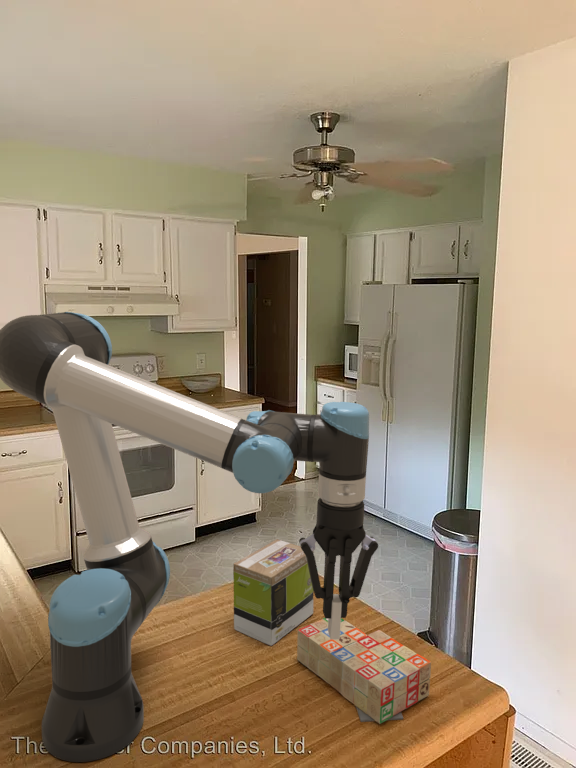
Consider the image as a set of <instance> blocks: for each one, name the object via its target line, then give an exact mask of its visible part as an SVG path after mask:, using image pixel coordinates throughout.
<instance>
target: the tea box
mask: <svg viewBox="0 0 576 768" xmlns="http://www.w3.org/2000/svg"><path fill="white" fill-rule="evenodd" d="M314 553H315V550H314V551H313V554H314ZM314 555H315V554H314ZM232 566H233V570H232V571H233V572H232V573H233V578H232V579H233V629H234V630H235V631H237V632H239V633H241V634H243V635H244V636H245V635H246V636H247V637H249V638H252V639H254V640H255V641H256V640H257V641H259V642H261V643H263V644H265V645H268V646H270V647H271V646H273V645H275V644H276V643H277V642H278V641H280V640H281V639H282V638H283V637H285V636H286V635H287V634H288V633H290V632H292V631H293V630H294V629H295V628H297V627H298V626H299V625H301V624H302V623H303V622H304V621H305V620H307V619H308V618H309V617H310V616H312V615H313V614H314V591H313V587H312V582H311V578H310V573H309V568H308V563H307V558H306V555H305V554H304V552H303V551H302V549H301V546H300V545H297V544H293V543H291V542H288V541H284V540H280V539H278V538H276V539H274V540H273V541H271V542H269V543H267V544H266V545H263V546H262V547H260V548H259V549H256V550H255V551H253V552H252V553H249V554H248V555H246V556H244V557H242V558H241V559H239V560H238V561H236V562H234V563H233V565H232Z"/></svg>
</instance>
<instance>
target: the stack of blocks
mask: <svg viewBox="0 0 576 768" xmlns="http://www.w3.org/2000/svg"><path fill="white" fill-rule="evenodd" d="M296 640H297V643H296V644H297V646H296V647H297V650H296V651H297V652H296V653H297V654H296V655H297V656H296V657H297V658H296V660H297V661H299V663H301V664H302V665H303V666H305V667H307V668H308V669H309V670H310V671H311V672H313V673H314V674H315V675H316V676H318V677H320V678H321V679H322V680H323V681H325V683H327V684H329V685H330V687H332V688H333V689H334V690H336V691H337V692H338V693H340V695H342V697H344V698H345V699H346V700H348V701H349V702H350V703H352V704H354V706H355V705H356V706H357V707H358V708H359V709H361V710H362V711H363V712H365V713H366V714H368V715H369V716H370V717H371V718H373V719H374V720H375V721H374V722H376V723H378V724H379V725H380V724H383V723H384V722H386V721H389V720H388V719H390V718H391V717H393V716H394V715H396V714H397V713H399V712H401V713H402V711H404V710H407V709H408V708H410V707H412V706H414V705H415V704H416V703H418V702H419V701H421V700H423V699H425V698H427V697H428V696H430V687H431V685H430V684H431V670H432V661H431V660H430V659H429V660H428V659H427V658H426V657H424V656H422V655H420V654H419V653H416V652H415V651H414V650H412V649H410V648H409V647H407V646H405V645H403V644H402V643H401V642H398V641H397V640H396V639H394V638H393V637H392V636H390V635H388V634H386V633H385V632H384V631H382V630H380V629H377V630H376V631H374V632H371V633H368V634H366V633H365V631H364V632H363V631H362V630H361V629H359V628H358V627H356V626H355V625H353V624H352V623H350V622H348V621H347V620H344V618H341V624H340V639H330V636H329V632H328V619H325V617H322V619H320V620H317V621H314V622H312V623H310V624H308V625H305V626H303V627H301V628H299V629H297V639H296ZM356 706H355V707H356Z"/></svg>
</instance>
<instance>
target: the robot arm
mask: <svg viewBox="0 0 576 768" xmlns="http://www.w3.org/2000/svg"><path fill="white" fill-rule="evenodd" d="M112 355H113V346H112V339H111V338H110V335H109V333H108V332H107V330H106V328H105V327H104V326H103V325H102V324H101V323H100V322H99V321H98V320H96V319H95V318H93V317H91V316H89V315H88V314H87V315H86V314H84V313H78V312H77V313H76V312H72V311H71V312H69V311H64V312H55V313H54V312H53V313H45V314H30V315H23V316H19V317H16V318H14V319H12V320H11V321H9V322H7V323H5V325H3V326H2V327H1V328H0V380H1V381H2V382H3V384H4V385H6V386H7V387H8V388H10V389H11V390H13V391H14V392H16V393H18V394H20V395H22V396H24V397H27V398H28V399H31V400H33V401H35V402H38V403H40V404H43V405H45V406H46V407H48V408H50V409H51V410H52V413H53V417H54V421H55V425H56V427H57V431H58V435H59V437H60V442H61V445H62V446H61V447H62V450H63V453H64V456H65V459H66V460H65V461H66V464H67V467H68V470H69V475H70V478H71V481H72V485H73V489H74V492H75V496H76V499H77V503H78V508H79V510H80V515H81V518H82V521H83V525H84V529H85V532H86V535H87V540H88V546H86V547H87V548H86V549H85V551H84V552H83V554H82V557H83V561H84V564H85V568H86V570H83V571H81V572H80V574H72V575H71V576H69V577H68V578H67V579H65V580H63V581H62V582H61V583H60V584H59V585H58V586H56V589H55V590H54V591H53V593H52V595H51V597H50V601H49V612H48V617H47V618H48V623H47V625H48V629H49V645H50V662H51V663H50V664H51V683H52V685H51V686H52V687H51V692H50V694H49V697H48V699H47V700H48V701H47V703H46V708H45V709H44V710H45V711H44V713H43V715H42V720H41V738H42V744H43V746H44V748H45V749H46V751H47V752H48V753H49V754H50V755H52V756H53V757H55V758H57V759H59V760H62V761H65V762H66V761H67V762H73V763H86V762H93V761H97V760H102V759H105V758H107V757H110V756H112V755H114V754H116V753H118V752H120V751H121V750H123V749H124V748H126V747H127V746H128V745H129V744H130V743H132V742H133V741H134V739H136V737H137V736H138V735H139V734H140V731H142V727H143V723H144V718H145V717H144V713H145V712H144V708H145V707H144V702H143V701H144V700H143V698H142V696H141V693H140V691H139V688H138V685H137V683H136V680H135V677H134V676H133V673H132V639H133V637H134V635H135V634H136V632H138V629H139V628H140V627H141V626H142V624H143V623H144V621H145V620H146V619H147V618H148V616H149V615H150V614H151V613H152V611H153V609H154V608H155V607H156V606H157V604H159V603H160V601H161V599H162V598H163V596H164V595H165V593H166V589H167V588H168V585H169V582H170V579H171V566H170V565H171V564H170V562H169V559H168V556H167V554H166V552H165V551H164V550H163V548H162V547H161V546H158V545H157V544H156V542H154V541H153V538H152V535H151V533H150V532H149V531H148V530H145V529H143V528H142V527H141V526H140V524H139V520H138V517H137V513H136V509H135V506H134V501H133V499H132V494H131V492H130V491H131V489H130V487H129V483H128V480H127V475H126V473H125V469H124V465H123V460H122V457H121V454H120V449H119V446H118V443H117V438H116V435H115V431H114V427H113V425H114V426H116V427H118V428H122V429H124V430H126V431H129V432H131V433H134V434H136V435H138V436H140V437H141V436H142V437H144V438H146V439H148V440H150V441H153V442H156V443H158V444H161V445H164V446H166V447H168V448H171V449H173V450H175V451H177V452H181V453H183V454H186V455H188V456H191V457H193V458H196V459H198V460H200V461H203V462H205V463H208V464H210V465H212V466H215V467H218V468H221V470H225V471H228V472H230V473H232V474H233V477H234V478H235V480H236V481H237V483H238V484H239V485H240V487H242V488H243V489H244V490H246V491H248V492H251V493H254V494H267V493H270V492H272V491H275V490H276V489H278V488H279V487H280V486H281V485H282V484H283V483H284V482H285V481H286V480H287V478H288V477H289V475H291V473H292V471H293V469H294V463H295V462H309V463H314V462H315V463H318V465H319V468H318V485H317V495H318V497H319V498H318V499H317V501H316V502H317V505H316V506H317V507H316V510H317V511H316V523H315V524H316V525H315V526H314V528H313V530H312V534H311V535H309V536H307V537H300V538H299V541H298V542H299V546H301V549H302V551H303V552H304V554H305V555H306V558H307V563H308V568H309V573H310V578H311V582H312V587H313V595H314V598H316V599H323V600H322V601H323V602H322V612H323V613H322V614H323V616H324V618H325V619H328V632H329V636H330V639H340V624H341V618H342V619H346V618H347V616H348V606H349V605H348V604H349V603H350V602H351V601H350V599H351V598H358V597H359V596H360V595H361V592H362V589H363V586H364V582H365V578H366V576H367V572H368V568H369V566H370V563H371V559H372V557H373V555H374V554H375V552H376V551H377V550H378V549H379V543H378V542H377V540H376V539H375V537H374V536H369V535H367V532H366V530H365V528H364V517H365V502H364V500H365V499H366V484H367V483H366V482H367V466H368V465H367V464H368V455H369V452H368V451H369V443H370V442H369V440H370V439H369V438H370V412H369V410H368V409H367V407H365V406H364V405H362V404H360V403H356V402H349V401H329V402H326V403H325V404H323V405H322V408H321V412H320V414H318V413H317V414H308V413H307V414H306V413H296V412H295V413H293V412H284V411H282V412H281V411H274V410H270V409H268V410H264V411H263V410H259V411H258V410H255V411H251V412H249V413H248V414H247V416H246V419H243V418H242V417H239V416H237V415H234V414H232V413H229V412H227V411H225V410H222V409H219V408H217V407H214V406H212V405H210V404H207V403H205V402H202V401H199V400H196V399H195V398H192V397H189V396H186V395H184V394H182V393H179V392H176V391H174V390H172V389H169V388H167V387H164V386H162V385H159V384H157V383H154V382H151V381H149V380H146V379H144V378H142V377H139V376H136V375H134V374H132V373H129V372H126V371H124V370H121V369H119V368H117V367H114V366H112V365H109V363H110V361H111V359H112ZM316 543H317V544H318V545H319V547H320V548H321V550H322V551H323V552H324V569H323V570H324V571H323V586H321V581H320V576H319V571H318V567H317V562H316V557H315V554H313V551H314V552H315V550H316ZM360 545H361V547H360V550H359V551H360V552H359V555H358V557H357V559H356V563H355V567H354V570H353V572H352V577H351V567H352V566H351V563H352V558H353V553H354V552H355V551H357V549H358V547H359V546H360ZM338 556H339V574H338V575H339V577H338V593H334V590H335V589H334V588H335V587H334V586H335V572H336V570H335V569H336V563H337V557H338ZM350 578H351V579H350Z"/></svg>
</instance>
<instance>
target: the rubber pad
mask: <svg viewBox="0 0 576 768" xmlns="http://www.w3.org/2000/svg"><path fill="white" fill-rule="evenodd" d="M354 706H355V708H356V711H357V714H358V718H359V721H360V723H366V722H376V721H375V720H374V719H373V718H371V717H370V716H369V715H368V714H366V713H365V712H363V711H362V710H361V709H359V708H358V707H357V706H356V705H354ZM398 720H399V721H401V720H404V716H403V713H402V711H401V712H399V713H397V714H396V715H394V716H393V717H391V718H390V719H388V720H387V721H398Z"/></svg>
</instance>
